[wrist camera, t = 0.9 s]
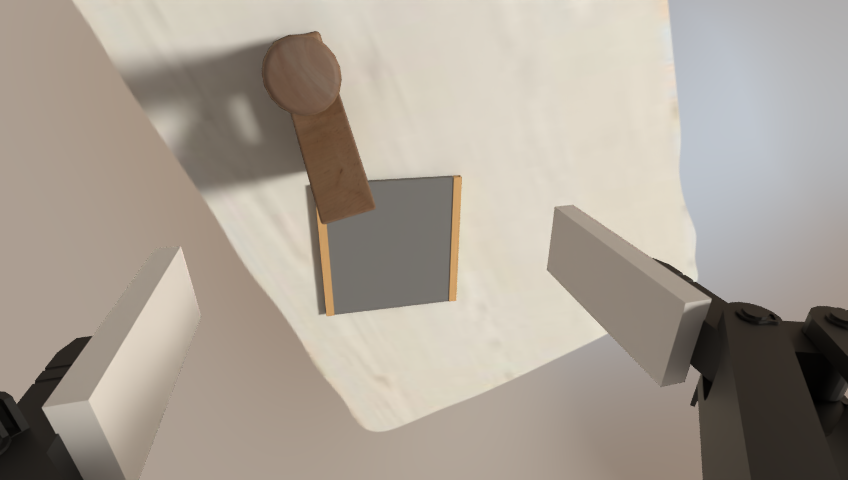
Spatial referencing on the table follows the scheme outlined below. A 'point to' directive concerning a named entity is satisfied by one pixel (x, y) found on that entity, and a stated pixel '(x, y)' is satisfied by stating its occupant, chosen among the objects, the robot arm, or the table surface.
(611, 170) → the table surface
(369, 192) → the wooden block assembly
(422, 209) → the mat
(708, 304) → the robot arm
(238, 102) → the table surface
